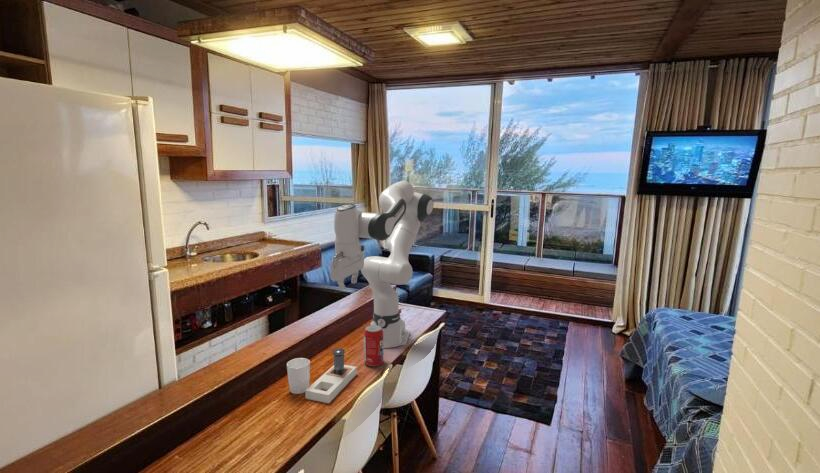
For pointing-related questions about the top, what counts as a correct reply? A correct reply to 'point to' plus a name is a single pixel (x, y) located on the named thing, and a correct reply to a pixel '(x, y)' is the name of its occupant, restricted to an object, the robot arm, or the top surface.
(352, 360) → the top surface
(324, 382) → the dock board
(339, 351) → the pin
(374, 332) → the soda can
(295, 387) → the white cup
